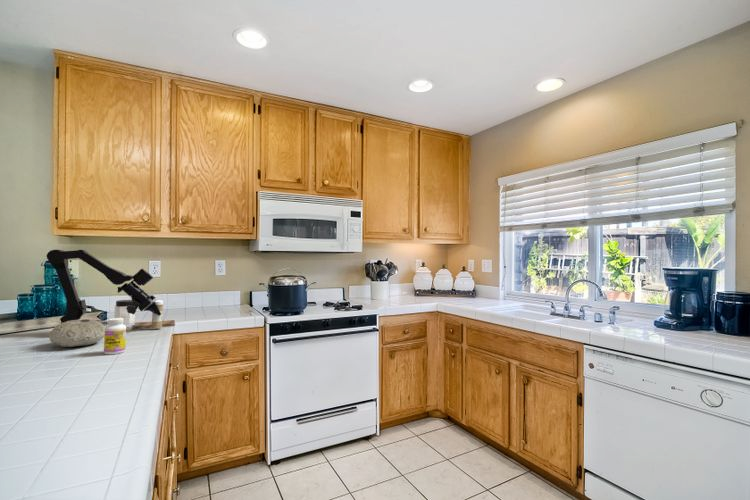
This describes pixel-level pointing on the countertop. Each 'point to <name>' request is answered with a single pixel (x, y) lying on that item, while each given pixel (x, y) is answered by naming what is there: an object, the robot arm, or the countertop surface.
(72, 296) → the robot arm
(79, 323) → the grey rock
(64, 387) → the countertop surface
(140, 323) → the board
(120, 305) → the jar
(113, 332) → the supplement bottle
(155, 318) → the sprinkles bottle
